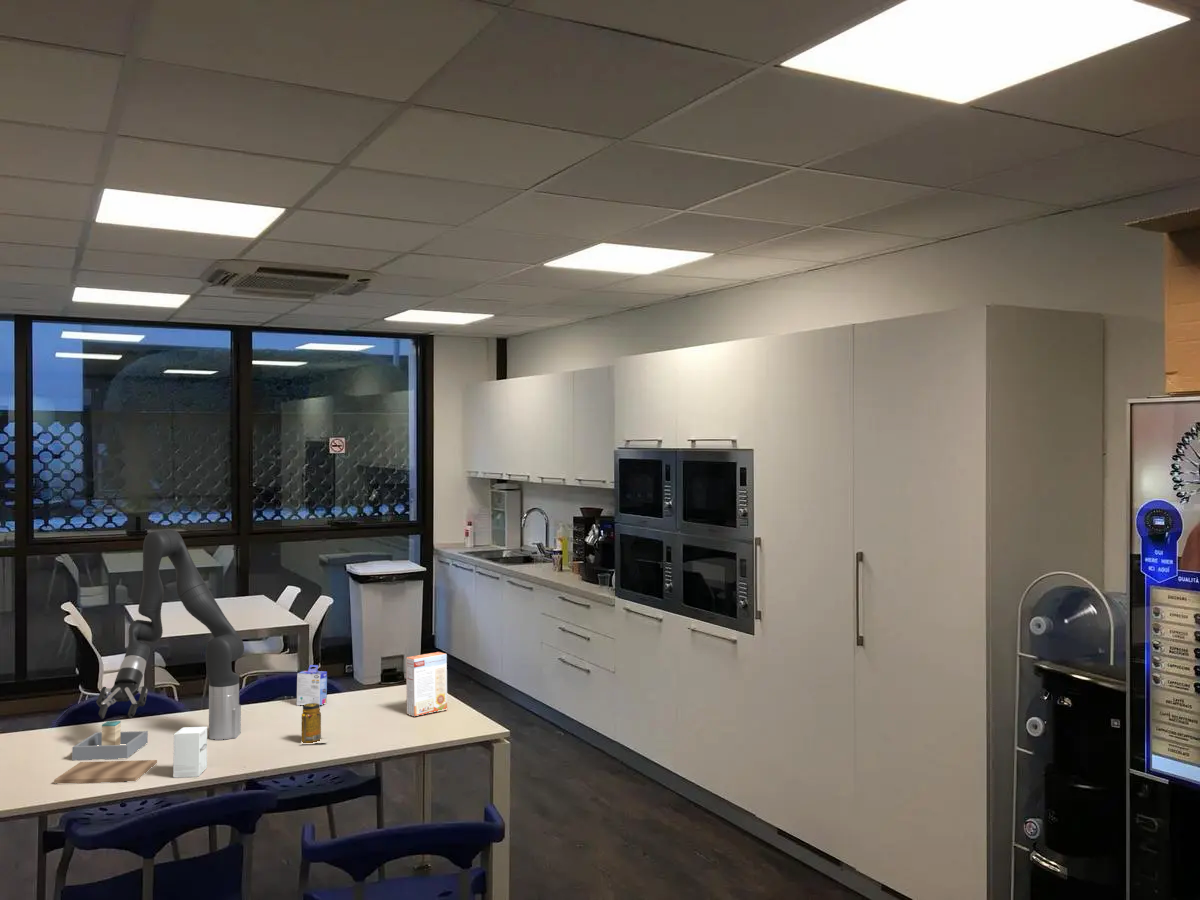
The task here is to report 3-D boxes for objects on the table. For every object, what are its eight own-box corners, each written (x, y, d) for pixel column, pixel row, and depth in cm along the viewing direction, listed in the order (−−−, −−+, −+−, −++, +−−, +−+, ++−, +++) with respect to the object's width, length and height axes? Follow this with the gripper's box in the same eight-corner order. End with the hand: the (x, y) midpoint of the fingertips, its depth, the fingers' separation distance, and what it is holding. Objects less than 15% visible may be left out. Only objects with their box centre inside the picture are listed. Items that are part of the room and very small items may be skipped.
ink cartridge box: (327, 703, 353) (327, 664, 354) (320, 707, 348) (320, 667, 348) (303, 702, 355) (303, 663, 356) (296, 705, 350) (296, 666, 350)
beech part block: (120, 749, 296) (120, 721, 296) (115, 753, 292) (115, 724, 292) (107, 750, 295) (107, 721, 295) (101, 753, 291) (101, 724, 292)
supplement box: (199, 777, 269) (199, 733, 269) (172, 778, 268) (172, 733, 269) (207, 769, 276) (208, 726, 277) (181, 769, 276) (182, 726, 276)
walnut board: (157, 763, 281) (157, 759, 281) (135, 781, 265) (135, 777, 265) (80, 766, 279) (80, 762, 279) (53, 784, 263) (53, 779, 263)
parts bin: (147, 743, 302) (147, 731, 302) (127, 758, 286) (127, 745, 286) (95, 744, 301) (95, 732, 301) (72, 760, 285) (72, 747, 285)
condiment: (302, 739, 307) (302, 702, 307) (328, 738, 308) (328, 701, 308) (298, 745, 300) (298, 708, 300) (326, 744, 301) (326, 707, 301)
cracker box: (438, 707, 347) (438, 651, 347) (447, 711, 342) (447, 653, 343) (405, 714, 337) (405, 656, 338) (414, 717, 333) (414, 658, 333)
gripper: (105, 666, 306) (88, 711, 294) (150, 666, 307) (135, 710, 295) (111, 679, 311) (95, 723, 299) (156, 678, 312) (142, 722, 300)
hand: (115, 717), depth 297 cm, fingers open, 8 cm apart
